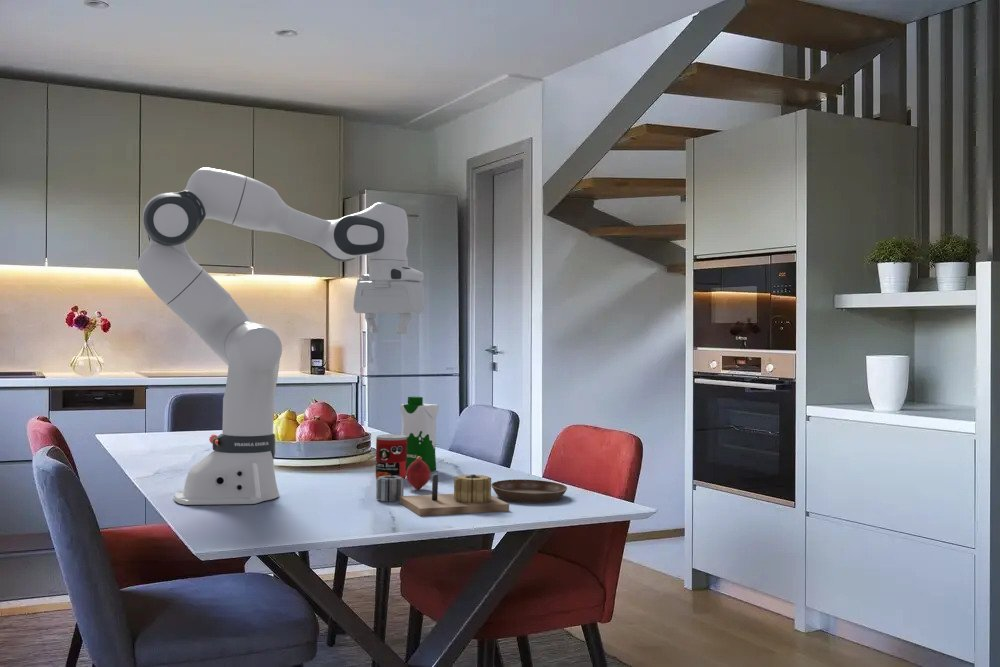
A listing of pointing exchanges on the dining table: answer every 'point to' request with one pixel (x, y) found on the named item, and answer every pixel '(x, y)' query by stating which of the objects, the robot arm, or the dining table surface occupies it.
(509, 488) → the plant saucer
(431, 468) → the milk carton
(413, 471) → the onion
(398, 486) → the steel gear
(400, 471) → the canned food
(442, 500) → the gear board
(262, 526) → the dining table surface
